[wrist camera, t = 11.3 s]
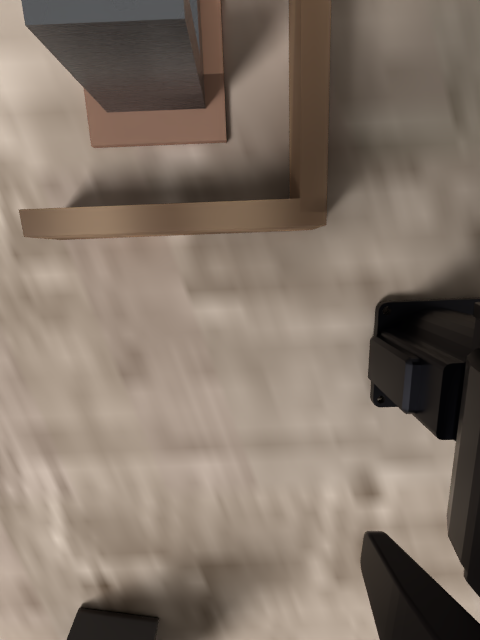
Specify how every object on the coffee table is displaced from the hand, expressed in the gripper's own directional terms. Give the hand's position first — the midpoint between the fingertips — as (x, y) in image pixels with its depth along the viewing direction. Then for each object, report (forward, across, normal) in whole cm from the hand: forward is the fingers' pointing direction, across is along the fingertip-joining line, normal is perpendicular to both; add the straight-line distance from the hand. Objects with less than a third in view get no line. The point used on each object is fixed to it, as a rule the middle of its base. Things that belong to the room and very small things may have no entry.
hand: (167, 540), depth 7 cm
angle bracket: (+12, +3, -16) cm, 20 cm away
